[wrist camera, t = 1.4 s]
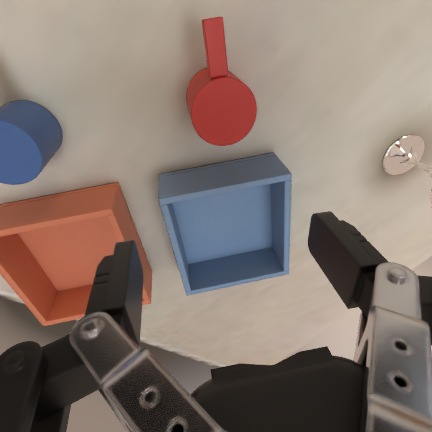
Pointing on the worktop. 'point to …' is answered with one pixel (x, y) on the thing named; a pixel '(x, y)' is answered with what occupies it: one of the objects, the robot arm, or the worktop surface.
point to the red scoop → (219, 94)
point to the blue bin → (228, 221)
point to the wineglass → (406, 157)
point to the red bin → (64, 248)
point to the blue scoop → (26, 140)
